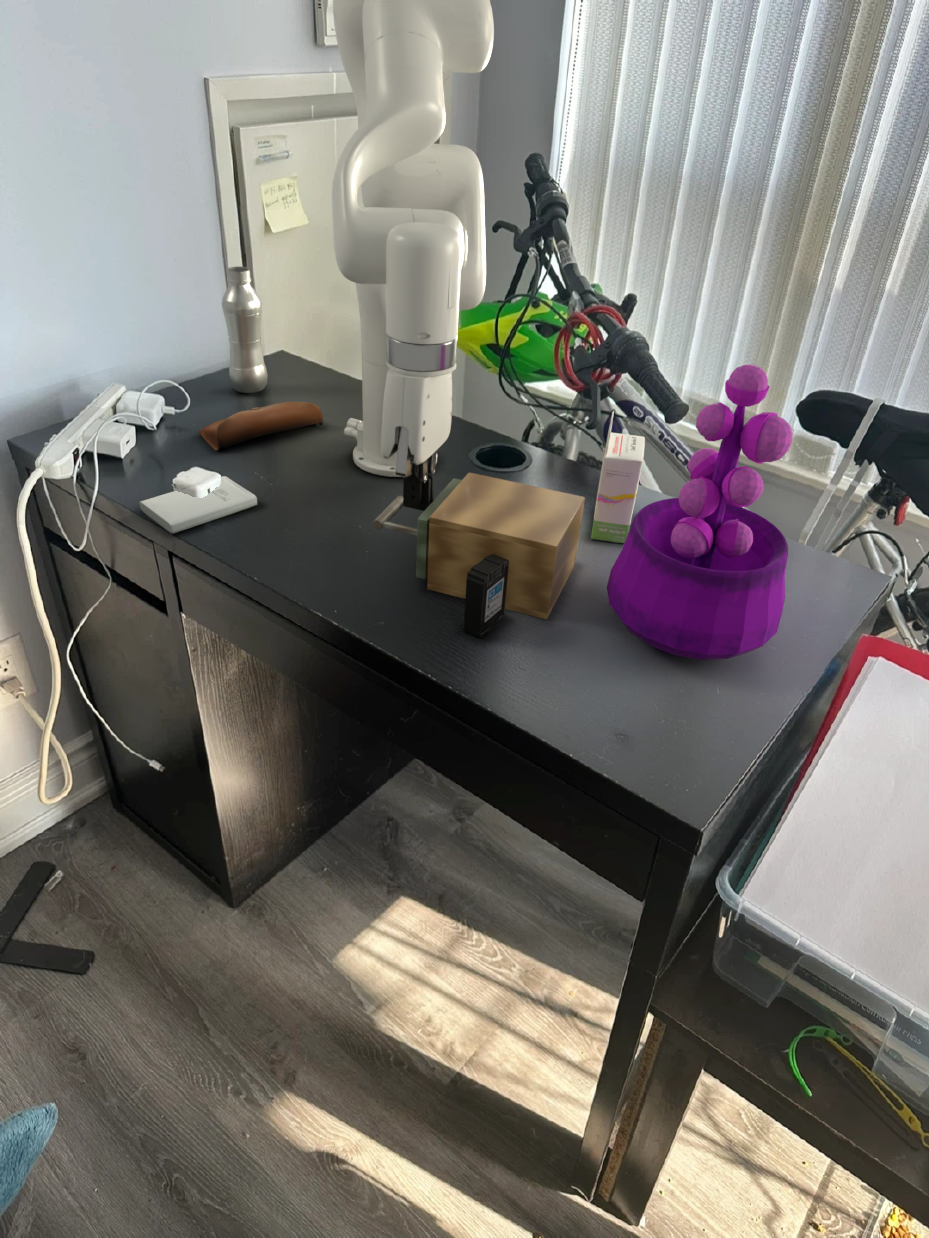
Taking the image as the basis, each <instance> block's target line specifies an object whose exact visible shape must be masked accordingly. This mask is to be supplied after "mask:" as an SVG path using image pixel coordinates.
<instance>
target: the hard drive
mask: <svg viewBox="0 0 929 1238" xmlns="http://www.w3.org/2000/svg"><path fill="white" fill-rule="evenodd" d="M219 477H220V478H221V484H220V486H219V487H216V488H215V490H213V491H212V492H210V493H209V494H208V495H207V496H205V497H203V498H197V497H192V496H190V495H188V494H184V493H182V492H178V491H177V490H173V491H170V492H166V493H163V494H161V495H157V496H154V497H151V498H147V499H144V500H141V501H139V508H140V511H141V512H142V513H143V514H144V515H146V516H147V517H148V518H149V519H150V520H152V521H153V522H155V523H156V524H158V526H160V527H162V529H164V530H165V531H167V532H168V533H169V534H171V535H174V534H177V533H179V532H183V531H186V530H188V529H191V528H194V527H197V526H200V525H203V524H206V523H209V522H211V521H212V522H213V521H214V520H217V519H220V518H224V517H226V516H230V515H233V514H235V513H238V512H241V511H244V510H248V509H250V508H253V507H255V506H258V497H257V495H255V494H254V493H252V492H251V491H249V490H248V489H247V488H245V487H243V486H242V485H240V484H238V483H237V482H235V481H234V480H232V479H230V478H229V477H228V476H225V475H222V476H219Z"/></svg>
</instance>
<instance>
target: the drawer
mask: <svg viewBox="0 0 929 1238" xmlns="http://www.w3.org/2000/svg"><path fill="white" fill-rule="evenodd" d="M462 480H463V479H459V478H452V479H451V481H450V482H449V483H447V485H446V486H445V487H444V489H443V490H442V491H441V492H440V493H439V494H437V496H436V497H435V499H433V502H432V503H431V504H430V505H429V506H428V508H427V509H426V510H425V511H422V513H421V514H420V515H419V516H418V517H417V519H416V520H417V522H416V524H417V525H416V528H414V527H411V526H406V525H403V524H398V523H395V522H394V523H393V522H390V520H391V519H392V518H393V517H395V515H396V514H397V513H398V512H399V511H400V510H401V509H402V508H403V507H405V506H404V505H403V495H398V496H396V498H395V499H394V500H392V501H391V503H389V505H388V506H387V507H386V508H384V510H383V511H382V512H381V513H380V514H379V515H378V516H377V517H376V518H374V520H373V521H372V527H373V528H374V529H375V530H377V531H380V530H382V529H386V530H391V531H396V532H400V533H403V534H407V535H412V536H416V556H415V557H416V559H415V560H416V561H415V564H416V565H415V577H416V578H419V579H422V580H426V579H428V553H429V524H430V523H429V521H430V516H431V515H432V514H433V513H434V512H435V511H436V509H437V508H438V507H439V506H440V505H441V504H442V503H443V501H444V500H445V499H446V498H447V497H448V496H449V495H450V493H451V492H452V491H453V490H454V489H455V488H456V487H457V485H458V484H459V483H460V482H461V481H462Z"/></svg>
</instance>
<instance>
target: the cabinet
mask: <svg viewBox="0 0 929 1238" xmlns="http://www.w3.org/2000/svg"><path fill="white" fill-rule="evenodd" d="M461 480H462V481H461V482H460V483H459V484H458V485H457V487H456V488H455V489H454V490H453V491H452V492H451V493H450V495H449V496H448V497H447V498H446V499H445V500H444V501H443V503H442V504H441V505H440V506H439V507H438V508H437V509H436V511H435V512H434V513H433V514H432V515H431V516H430V521H429V523H430V524H429V553H428V576H427V583H426V584H427V588H426V589H427V590H428V591H432V592H436V593H440V594H443V595H448V596H452V597H457V598H459V599H460V598H461V599H465V598H466V581H467V574H468V572H469V571H470V570H471V568H472V567H473V566H474V565H476V564H478V563H479V562H480V561H482V560H483V559H484V558H485V557H486V556H488V555H491V554H494V555H497V556H500V557H502V558H505V559H507V560H509V568H508V578H507V589H506V599H505V609H504V610H507V611H511V612H514V613H519V614H523V615H527V616H530V617H535V618H539V619H542V620H548V619H549V616H550V614H551V612H552V610H553V609H554V607H555V605H556V603H557V601H558V599H559V597H560V596H561V593H562V591H563V589H564V587H565V585H566V584H567V581H568V579H569V578H570V576H571V574H572V572H573V570H574V568H575V566H576V559H577V552H578V547H579V540H580V533H581V526H582V520H583V513H584V506H585V500H586V496H581V495H577V494H573V493H568V492H564V491H559V490H554V489H549V488H545V487H541V486H535V485H530V484H526V483H521V482H516V481H511V480H507V479H502V478H497V477H493V476H488V475H483V474H479V473H473V472H468V473H467V474H466V475H465V476H464V477H463V479H461Z"/></svg>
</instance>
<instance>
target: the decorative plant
mask: <svg viewBox="0 0 929 1238" xmlns="http://www.w3.org/2000/svg"><path fill="white" fill-rule="evenodd" d="M768 383H769V378H768V375H767V372H766V371H765V370H764V369H763V368H762V367H760V366H759V365H755V364H743V365H740V366H738V367H736V368H735V369H734V370H733V371H732V372H731V373H730V375H729V378H728V379H726V380H725V382H724V392H725V394H726V398H727V399H728V400H729V401H730V402H731V403H732V404H734V405H736V407H735V410H734V412H732V410H731V408H730V406H728V405H726V404H724V403H722V402H721V401H720V402H717V403H712V404H708V405H705V406H703V407H702V408H701V409H700V410H699V412H698V415H697V416H696V422H695V428H696V430H697V432H698V433H699V434H700V435H701V436H702V437H703V438H704V440H705V441H707V442H717V441H721V442H720V444H719V449H718V450H717V449H715V448H711V447H703V448H701V449H698V450H696V451H695V452H694V453H693V454H692V455H691V457H690V458H689V460H688V462H687V471H688V473H689V478H690V480H689V481H687V482H685V483H684V484H683V485H682V487H681V488H680V490H679V493H678V497H672V498H665V499H660V500H657V501H653V502H651V503H649V504H647V505H645V506H643V507H642V508H641V509H639V510H638V512H637V513H636V514H635V516H634V517H633V518H632V521H631V524H630V529H629V532H628V535H627V538H626V540H625V543H623V546H622V548H621V550H620V551H619V554H618V556H617V558H616V560H615V561H614V563H613V565H612V566H611V569H610V572H609V576H608V580H607V583H606V594H607V601H608V605H609V606H610V608H611V609H612V610H613V612H614V613H615V614H616V616H617V617H618V619H619V620H620V621H621V623H622V624H623V625H624V627H626V629H627V630H628V631H629V632H630V633H631V634H632V635H633V636H635V637H637V638H638V639H640V640H641V641H642V642H644V643H646V644H647V645H648V646H651V647H653V648H656V649H658V650H660V651H664V652H666V653H668V654H671V655H673V656H678V657H683V658H688V659H695V660H699V661H700V660H701V661H702V660H703V661H704V660H728V659H731V658H734V657H737V656H740V655H743V654H744V655H745V654H747V653H749V652H752V651H754V650H756V649H759V648H761V647H763V646H764V645H765V644H767V642H769V641H770V640H771V639H772V638H773V637H774V636H775V635H776V634H777V633H778V631H779V626H780V622H781V619H782V615H783V610H784V606H785V601H786V570H787V564H788V559H789V545H788V541H787V539H786V537H785V536H784V534H783V532H782V531H781V530H780V529H779V528H778V527H777V526H776V525H775V524H774V523H772V522H770V521H769V520H768V519H766V518H765V517H763V516H761V515H760V514H758V513H756V512H754V511H751V510H749V509H747V507H749V506H751V505H753V504H754V503H755V502H756V501H758V500H759V498H760V497H761V496H762V494H763V491H764V489H765V487H764V485H765V484H764V480H763V479H762V476H761V475H760V473H758V472H757V470H755V469H753V468H752V467H749V466H747V465H745V466H742V465H741V466H738V463H739V459H740V455H741V452H742V454H743V455H744V456H745V457H746V458H747V460H749V461H752V462H754V463H755V464H759V465H763V464H765V463H774V462H776V461H780V460H781V459H782V458H783V457H784V456H785V455H786V454H787V453H788V452H789V450H790V448H791V446H792V443H793V436H794V435H793V434H794V432H793V429H792V427H791V424H789V422H788V421H787V420H786V419H785V418H783V417H780V416H779V415H778V413H776V412H773V411H771V412H769V411H767V412H766V411H762V412H760V413H757V414H755V415H753V416H752V417H750V419H748V420H747V421H746V422H745V414H746V408H749V407H752V406H755V405H758V404H759V405H760V404H761V402H762V401H763V400H765V398H766V396H767V395H768V392H769V389H770V386H769V384H768Z"/></svg>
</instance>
